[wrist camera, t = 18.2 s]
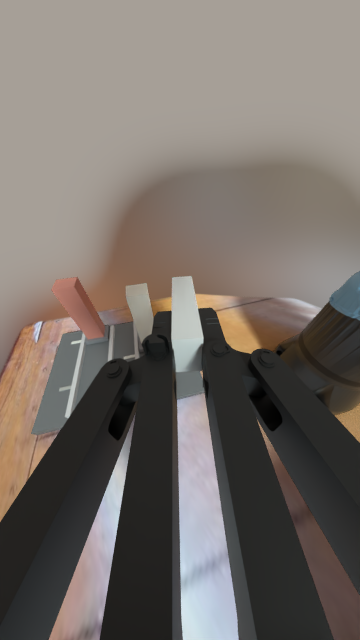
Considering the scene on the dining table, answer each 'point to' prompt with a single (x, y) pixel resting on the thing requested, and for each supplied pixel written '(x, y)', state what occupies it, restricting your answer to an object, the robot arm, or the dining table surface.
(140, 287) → the cream fader
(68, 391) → the console
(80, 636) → the dining table surface
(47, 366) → the dining table surface
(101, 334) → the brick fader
